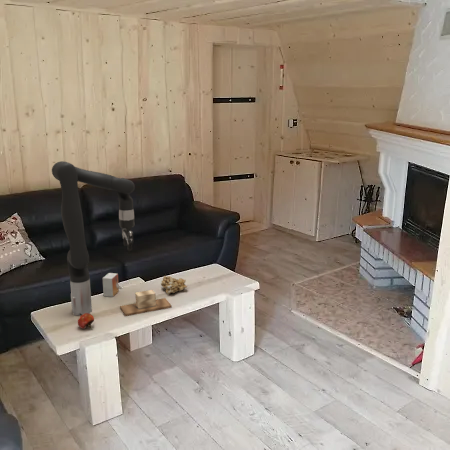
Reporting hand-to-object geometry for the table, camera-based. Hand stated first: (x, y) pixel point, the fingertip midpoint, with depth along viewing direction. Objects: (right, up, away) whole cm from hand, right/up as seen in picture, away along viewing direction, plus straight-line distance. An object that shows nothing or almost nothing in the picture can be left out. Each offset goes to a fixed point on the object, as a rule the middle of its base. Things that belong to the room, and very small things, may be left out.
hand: (128, 248), depth 250 cm
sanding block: (+10, -29, -4) cm, 31 cm away
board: (+10, -30, -4) cm, 32 cm away
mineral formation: (+21, -24, +19) cm, 37 cm away
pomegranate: (-14, -36, -24) cm, 46 cm away
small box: (-12, -26, +13) cm, 31 cm away
